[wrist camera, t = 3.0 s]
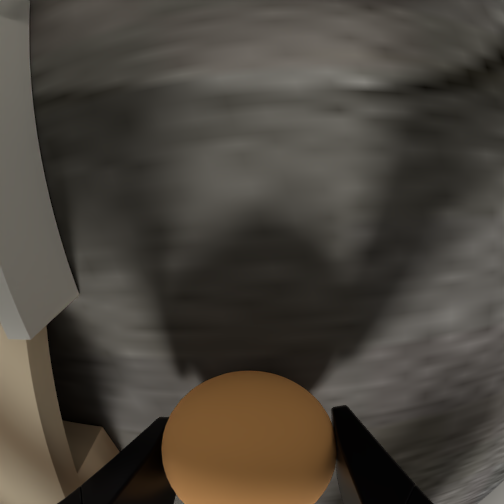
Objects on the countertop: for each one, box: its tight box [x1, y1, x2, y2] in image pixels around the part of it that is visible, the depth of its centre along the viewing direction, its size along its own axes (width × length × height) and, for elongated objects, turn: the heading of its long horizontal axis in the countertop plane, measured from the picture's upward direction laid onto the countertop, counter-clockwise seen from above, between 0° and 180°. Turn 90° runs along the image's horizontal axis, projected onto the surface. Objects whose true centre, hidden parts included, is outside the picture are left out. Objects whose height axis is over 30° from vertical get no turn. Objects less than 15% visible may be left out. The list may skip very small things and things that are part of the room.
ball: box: [161, 371, 337, 504], centre depth 7 cm, size 4×4×4 cm
